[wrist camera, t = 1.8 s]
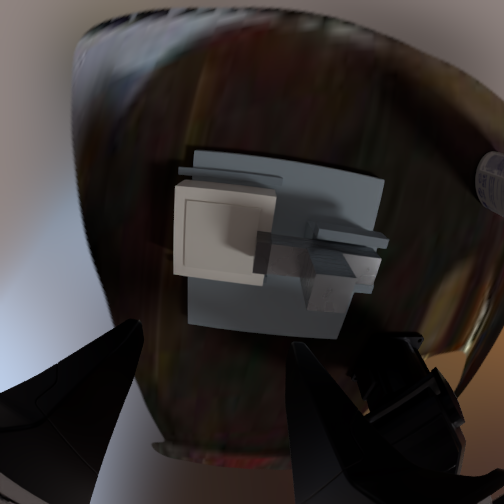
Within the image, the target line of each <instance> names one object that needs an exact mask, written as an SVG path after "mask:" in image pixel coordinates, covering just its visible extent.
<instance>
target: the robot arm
mask: <svg viewBox="0 0 504 504" xmlns="http://www.w3.org/2000/svg"><path fill="white" fill-rule="evenodd" d="M375 339H376V340H375ZM423 340H424V338H423V336H422V335H385V334H376V335H373V336H372V337H371V338H370V340H369V342H368V344H367V346H366V348H365V350H364V352H363V354H362V355H361V357H360V359H359V361H358V363H357V365H356V367H355V369H354V372H353V374H352V376H351V378H352V381H357V383H358V386H359V390H360V393H361V397H362V399H363V400H364V401H367V403H368V407H369V410H370V413H368V414H366V415H365V416H363V414H362V413H361V412H360V411H359V410H358V408H357V407H356V406H355V405H354V404H353V402H352V401H351V400H350V399H349V397H348V396H347V395H346V394H345V393H344V391H343V390H342V389H341V388H340V386H339V385H338V384H337V383H336V382H335V380H334V379H333V378H332V377H331V375H330V374H329V373H328V372H327V370H326V369H325V368H324V367H323V365H322V364H321V363H320V362H319V360H318V359H317V358H316V357H315V356H314V354H313V353H312V352H311V351H310V349H309V348H308V347H307V346H306V344H305V343H303V342H292V343H291V345H290V349H289V352H288V356H287V360H286V388H285V404H286V414H287V424H288V433H289V443H290V453H291V463H292V473H293V483H294V494H295V504H504V494H502V495H500V496H499V497H497V498H496V499H494V500H492V499H491V496H490V495H492V494H493V493H494V492H496V491H497V490H499V489H500V488H502V487H503V486H504V469H499V468H497V469H495V470H493V471H491V472H490V473H488V474H486V475H483V476H476V477H472V476H463V475H460V471H461V467H462V462H463V457H464V451H465V445H466V440H465V437H464V435H463V433H462V431H461V429H460V426H461V425H462V424H463V423H465V420H464V417H463V414H462V411H461V408H460V405H459V402H458V400H457V398H456V396H455V394H454V392H453V390H452V388H451V387H450V385H449V383H448V382H447V381H446V379H445V378H444V377H443V375H442V374H441V373H440V372H439V370H438V369H437V368H436V367H435V368H434V369H432V370H431V372H429V370H428V368H427V366H426V364H425V362H424V360H423V359H422V357H421V355H420V353H419V351H418V349H419V347H420V345H421V344H422V342H423ZM143 343H144V336H143V329H142V323H141V321H139V320H136V319H128V320H126V321H125V322H123V323H121V324H120V325H118V326H116V327H115V328H113V329H112V330H110V331H108V332H107V333H105V334H104V335H102V336H100V337H99V338H97V339H95V340H94V341H92V342H90V343H89V344H87V345H86V346H84V347H82V348H81V349H79V350H78V351H76V352H74V353H73V354H71V355H70V356H68V357H66V358H65V359H63V360H61V361H60V362H58V364H55V365H53V366H52V367H50V368H48V369H47V370H45V371H43V372H42V373H40V374H38V375H36V376H34V377H32V378H30V379H29V380H27V381H24V382H22V383H20V384H18V385H16V386H14V387H12V388H10V389H8V390H6V391H4V392H2V393H0V504H90V500H91V497H92V494H93V490H94V487H95V484H96V481H97V478H98V474H99V471H100V468H101V465H102V462H103V459H104V456H105V453H106V450H107V447H108V444H109V442H110V439H111V436H112V433H113V431H114V428H115V425H116V423H117V420H118V417H119V414H120V412H121V409H122V407H123V404H124V402H125V399H126V396H127V394H128V392H129V389H130V387H131V384H132V381H133V379H134V375H135V372H136V368H137V364H138V361H139V357H140V354H141V350H142V347H143Z"/></svg>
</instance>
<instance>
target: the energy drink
mask: <svg viewBox="0 0 504 504" xmlns="http://www.w3.org/2000/svg"><path fill="white" fill-rule="evenodd" d="M475 187H476V192H477V195H478V198H479V200H480V202H481V203H482V205H483V206H485V207H486V208H488V209H490V210H492V211H493V212H495V213H497V214H499V215H501V216H503V217H504V154H503V153H499V152H495V151H491V152H488V153H487V154H485V155H484V156H483V158H482V159H481V160H480V162H479V164H478V167H477V170H476V175H475Z"/></svg>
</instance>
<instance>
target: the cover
mask: <svg viewBox="0 0 504 504" xmlns="http://www.w3.org/2000/svg"><path fill="white" fill-rule="evenodd" d="M275 204H276V192H275V189H268V188H260V187H252V186H244V185H236V184H227V183H217V182H207V181H197V180H183V181H182V182H180V183H179V184H177V185H176V186H175V204H174V252H173V260H174V274H175V275H182V276H189V277H196V278H203V279H210V280H218V281H225V282H233V283H241V284H249V285H257V286H263V279H264V274H255V273H252V271H253V258H254V251H255V244H256V236H257V231H263V232H271V230H272V223H273V217H274V210H275Z"/></svg>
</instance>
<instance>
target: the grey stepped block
mask: <svg viewBox="0 0 504 504" xmlns="http://www.w3.org/2000/svg"><path fill="white" fill-rule="evenodd" d="M380 262H381V258H380V256H379V255H378V254H377V253H376V252H375V250H374V249H373V248H370V247H363V246H357V245H350V244H343V243H336V242H329V241H322V240H315V239H308V238H300V237H293V236H285V235H278V234H271V232H263V231H257V236H256V244H255V251H254V258H253V271H252V273H255V274H264V275H267V274H274V275H282V276H291V277H299V278H300V283H301V288H302V292H303V297H304V301H305V306H306V310H310V311H321V312H334V313H345V312H346V309H347V306H348V303H349V301H350V298H351V295H352V292H353V289H354V286H355V284H364V285H373V283H374V280H375V277H376V274H377V271H378V268H379V265H380Z"/></svg>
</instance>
